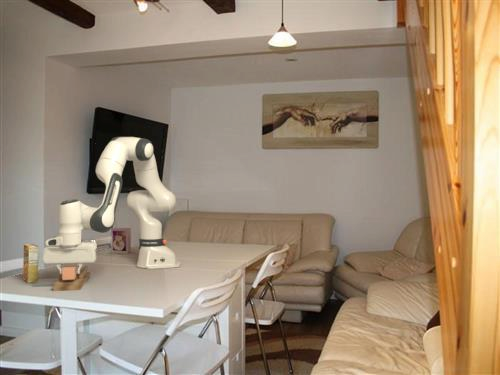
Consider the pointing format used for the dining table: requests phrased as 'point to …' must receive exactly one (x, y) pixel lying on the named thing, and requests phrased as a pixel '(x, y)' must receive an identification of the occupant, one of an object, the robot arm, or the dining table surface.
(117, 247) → the greeting card
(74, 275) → the block
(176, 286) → the dining table surface
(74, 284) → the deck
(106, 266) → the dining table surface
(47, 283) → the trivet
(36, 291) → the dining table surface
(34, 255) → the candy box
